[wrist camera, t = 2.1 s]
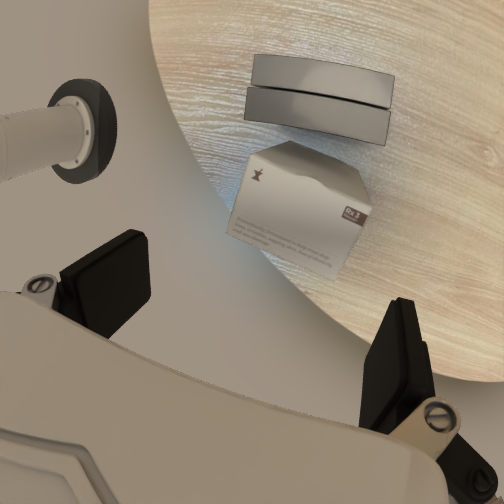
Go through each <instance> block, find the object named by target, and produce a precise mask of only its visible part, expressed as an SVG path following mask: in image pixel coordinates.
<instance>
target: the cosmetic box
mask: <svg viewBox="0 0 504 504" xmlns="http://www.w3.org/2000/svg"><path fill="white" fill-rule="evenodd" d="M372 210H373V207H372V204H371V201H370V199H369V197H368V194H367V192H366V189H365V187H364V184H363V182H362V179H361V177H360V175H359V172H358V170H356V169H354V168H353V167H351V166H349V165H347V164H344V163H342V162H340V161H338V160H336V159H334V158H331V157H329V156H327V155H324V154H322V153H319V152H317V151H315V150H312V149H310V148H307V147H303V146H301V145H299V144H296V143H294V142H292V141H288V142H285V143H282V144H279V145H276V146H273V147H270V148H267V149H265V150H262V151H259V152H256V153H252V154H250V156H249V159H248V163H247V166H246V169H245V172H244V174H243V177H242V181H241V184H240V187H239V190H238V194H237V197H236V200H235V203H234V207H233V210H232V213H231V217H230V220H229V224H228V227H227V230H226V233H227V234H228V235H230V236H232V237H235V238H237V239H239V240H241V241H244V242H246V243H248V244H250V245H253V246H255V247H257V248H259V249H262V250H264V251H266V252H268V253H271V254H273V255H275V256H277V257H280V258H282V259H284V260H286V261H289V262H291V263H293V264H295V265H298V266H300V267H302V268H304V269H307V270H309V271H311V272H313V273H316V274H318V275H320V276H322V277H325V278H327V279H329V280H331V281H335V279H336V277H337V275H338V273H339V272H340V270H341V268H342V266H343V264H344V262H345V260H346V259H347V257H348V255H349V253H350V251H351V250H352V248H353V246H354V244H355V242H356V240H357V238H358V236H359V235H360V233H361V231H362V229H363V227H364V225H365V223H366V221H367V219H368V217H369V216H370V214H371V212H372Z"/></svg>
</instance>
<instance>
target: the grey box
mask: <svg viewBox="0 0 504 504" xmlns="http://www.w3.org/2000/svg"><path fill="white" fill-rule="evenodd" d="M394 79H395V76H393V75H389V74H385V73H381V72H377V71H373V70H369V69H364V68H359V67H355V66H350V65H344V64H339V63H333V62H327V61H321V60H314V59H306V58H298V57H289V56H279V55H266V54H255V55H254V62H253V70H252V78H251V85H253V86H256V87H259V88H255V87H248V88H247V96H246V104H245V113H244V120H248V121H256V122H264V123H271V124H278V125H284V126H291V127H297V128H303V129H308V130H314V131H319V132H324V133H329V134H334V135H339V136H343V137H348V138H352V139H356V140H361V141H365V142H369V143H373V144H377V145H381V146H385V143H386V138H387V132H388V126H389V121H390V115H391V112H390V111H387V110H388V109H390V108H391V101H392V94H393V87H394Z"/></svg>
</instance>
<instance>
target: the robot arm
mask: <svg viewBox="0 0 504 504" xmlns="http://www.w3.org/2000/svg"><path fill="white" fill-rule="evenodd" d="M94 134H95V127H94V119H93V115H92V112H91V109H90V108H89V106H88V104H87V103H86V102H85V101H84V100H83V99H82V98H80V97H78V96H66V97H64V98H62V99H61V100H59V101H58V102H57V104H56V105H55V106H54V107H48V108H40V109H34V110H28V111H22V112H16V113H11V114H6V115H2V116H0V183H2V182H5V181H7V180H10V179H13V178H16V177H18V176H21V175H24V174H27V173H30V172H33V171H36V170H39V169H42V168H45V167H48V166H52V165H55V164H59V165H60V166H62V167H63V168H66V169H73V168H76V167H79V166H81V165H82V164H83V163H84V162H85V161H86V160H87V158H88V157H89V155H90V153H91V150H92V147H93V142H94ZM59 273H60V277H61V281H60V282H59V283H58V281H57V279H56V277H55V276H53V275H50V274H41V275H37V276H34V277H32V278H31V279H29V280H28V281H27V282H26V283H25V285H24V287H23V289H22V292H16V293H13V292H6V291H0V504H504V501H503V499H502V497H501V496H500V497H499V498H497V497H496V495H495V493H496V491H497V487H498V477H497V475H496V472H495V470H494V469H493V468H492V467H491V466H490V465H489V464H488V463H487V462H486V461H485V460H484V459H483V458H482V457H481V456H480V455H479V454H478V453H477V452H476V451H475V450H474V449H473V448H472V447H471V446H470V445H469V444H468V443H467V442H466V441H465V440H464V439H463V438H462V437H461V436H460V435H459V434H458V433H457V432H458V431H459V429H460V426H461V417H460V413H459V411H458V410H457V408H456V407H455V406H454V405H453V404H452V403H451V402H449V401H448V400H446V399H444V398H441V397H435V390H434V382H433V376H432V369H431V364H430V358H429V352H428V347H427V344H426V342H425V341H422V337H421V332H420V327H419V322H418V318H417V313H416V309H415V304H414V301H412V300H408V299H404V298H400V297H398V298H397V299H396V301H395V300H391V302H390V304H389V306H388V309H387V311H386V314H385V316H384V318H383V321H382V323H381V325H380V328H379V330H378V332H377V334H376V337H375V339H374V341H373V343H372V345H371V347H370V350H369V352H368V354H367V356H366V359H365V362H364V372H363V373H364V374H363V387H362V399H361V409H360V419H359V427H356V426H352V425H348V424H344V423H340V422H335V421H331V420H327V419H323V418H319V417H315V416H312V415H308V414H304V413H301V412H297V411H293V410H290V409H286V408H282V407H279V406H276V405H272V404H269V403H266V402H262V401H259V400H256V399H253V398H250V397H246V396H244V395H241V394H237V393H235V392H232V391H229V390H226V389H223V388H221V387H218V386H215V385H212V384H210V383H207V382H204V381H202V380H199V379H196V378H194V377H191V376H189V375H186V374H184V373H181V372H179V371H176V370H174V369H172V368H169V367H167V366H164V365H162V364H160V363H157V362H155V361H153V360H151V359H148V358H146V357H144V356H142V355H140V354H137V353H135V352H133V351H131V350H129V349H127V348H125V347H123V346H120V345H118V344H117V343H114V342H112V341H110V340H108V339H109V338H110V337H111V336H112V335H113V334H114V333H115V332H116V331H117V330H118V329H119V328H120V327H121V326H122V325H123V324H124V323H125V322H126V321H128V320H129V319H130V318H131V317H132V316H133V315H134V314H135V313H136V312H137V311H138V310H139V309H140V308H141V307H142V306H143V305H144V304H145V303H147V302H148V300H149V299H150V296H151V286H150V273H149V255H148V240H147V237H146V236H145V234H144V233H143V232H141V231H137V230H133V229H129V230H127V231H126V232H124V233H122V234H120V235H119V236H117V237H115V238H114V239H112V240H110V241H109V242H107V243H105V244H103V245H102V246H100V247H99V248H97V249H95V250H94V251H92V252H90V253H89V254H87V255H85V256H84V257H82V258H81V259H79V260H78V261H76V262H74V263H73V264H71V265H70V266H68V267H67V268H65V269H63V270H62V271H60V272H59Z"/></svg>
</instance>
